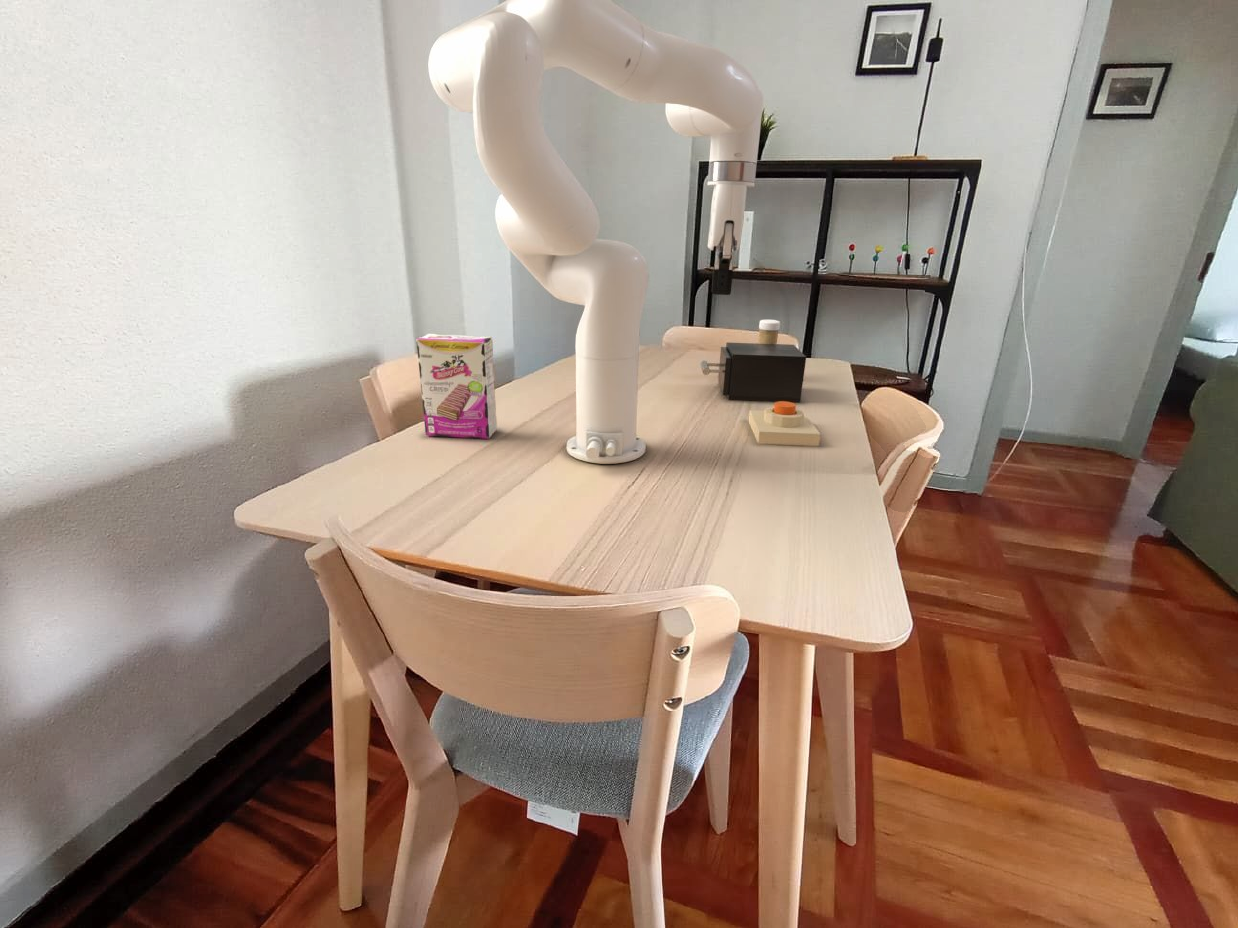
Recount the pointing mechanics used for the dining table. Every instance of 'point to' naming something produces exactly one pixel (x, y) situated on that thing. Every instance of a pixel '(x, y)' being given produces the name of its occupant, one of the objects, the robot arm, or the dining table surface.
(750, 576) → the dining table surface
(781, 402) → the button
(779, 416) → the cream button base
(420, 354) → the candy bar box
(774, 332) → the sprinkles bottle
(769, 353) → the black drawer cabinet
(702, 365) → the drawer with knob
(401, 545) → the dining table surface
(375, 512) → the dining table surface
